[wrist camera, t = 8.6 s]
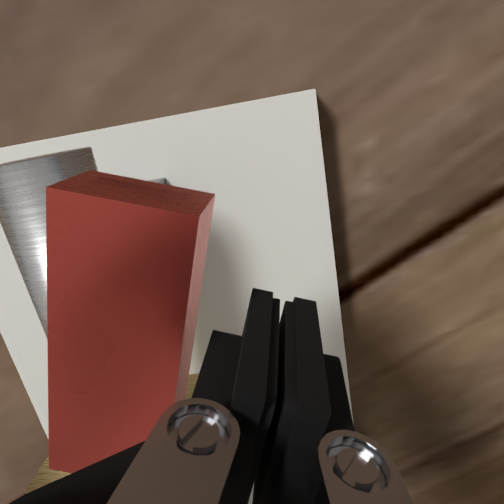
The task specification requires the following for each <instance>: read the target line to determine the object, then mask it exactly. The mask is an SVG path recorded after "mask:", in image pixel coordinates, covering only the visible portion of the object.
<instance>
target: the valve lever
mask: <svg viewBox="0 0 504 504" xmlns="http://www.w3.org/2000/svg"><path fill="white" fill-rule="evenodd" d="M214 199H215V194H213V193H208V192H203V191H197V190H192V189H187V188H182V187H177V186H171V185H166V184H161V183H156V182H150V181H145V180H140V179H135V178H130V177H124V176H119V175H114V174H109V173H103V172H98V171H93V170H89V171H87V172H84V173H81V174H79V175H76V176H73V177H71V178H68V179H65V180H63V181H60V182H57V183H55V184H52V185H49V186H47V187H46V252H47V341H48V431H49V469H52V470H57V471H62V472H67V473H74V472H76V471H78V470H80V469H83V468H85V467H87V466H89V465H92V464H94V463H96V462H98V461H101V460H103V459H105V458H107V457H110V456H112V455H114V454H116V453H118V452H121V451H123V450H125V449H127V448H130V447H132V446H134V445H136V444H139V443H141V442H143V441H145V440H146V439H147V437H148V436H149V434H150V433H151V431H152V429H153V428H154V426H155V424H156V423H157V421H158V420H159V418H160V416H161V415H162V414H163V413H164V411H165V410H166V409H167V408H168V407H169V406H171V405H173V404H174V403H176V402H178V401H181V400H185V398H186V391H187V385H188V378H189V371H190V364H191V357H192V350H193V343H194V336H195V330H196V323H197V316H198V309H199V302H200V295H201V288H202V282H203V275H204V268H205V261H206V254H207V247H208V240H209V233H210V227H211V220H212V213H213V206H214Z"/></svg>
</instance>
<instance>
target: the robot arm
mask: <svg viewBox="0 0 504 504" xmlns="http://www.w3.org/2000/svg"><path fill="white" fill-rule="evenodd" d="M279 321H280V323H279ZM253 484H254V489H253V501H252V504H414V503H413V501H412V499H411V496H410V494H409V492H408V490H407V488H406V485H405V483H404V481H403V479H402V477H401V474H400V472H399V470H398V468H397V466H396V464H395V462H394V461H393V459H392V457H391V456H390V454H389V453H388V452H387V451H386V450H385V449H384V448H383V447H382V446H381V445H380V444H378V443H377V442H375V441H374V440H373V439H371V438H370V437H367V436H365V435H363V434H361V433H359V432H355V430H354V425H353V420H352V415H351V410H350V405H349V400H348V395H347V390H346V385H345V380H344V375H343V370H342V365H341V361H340V358H339V357H337V356H332V355H328V354H323V347H322V340H321V333H320V326H319V319H318V312H317V304H316V301H312V300H307V299H303V298H298V297H294V300H293V302H291V301H285V304H284V307H283V311H282V315H281V319H280V299H277V298H273V292H270V291H266V290H261V289H257V288H253V289H252V293H251V298H250V302H249V306H248V311H247V315H246V320H245V324H244V329H243V333H242V336H240V335H235V334H231V333H226V332H222V331H217V330H213V331H212V334H211V337H210V340H209V344H208V347H207V350H206V353H205V356H204V360H203V363H202V366H201V369H200V372H199V376H198V379H197V382H196V385H195V388H194V391H193V395H192V398H189V399H185V400H181V401H178V402H176V403H174V404H173V405H171V406H169V407H168V408H167V409H166V410H165V411H164V413H163V414H162V415H161V416H160V418H159V420H158V421H157V423H156V424H155V426H154V428H153V429H152V431H151V433H150V434H149V436H148V437H147V439H146V440H145V441H143V442H141V443H139V444H136V445H134V446H132V447H130V448H127V449H125V450H123V451H121V452H118V453H116V454H114V455H112V456H110V457H107V458H105V459H103V460H101V461H98V462H96V463H94V464H92V465H89V466H87V467H85V468H83V469H80V470H78V471H76V472H74V473H71V474H69V475H67V476H65V477H63V478H60V479H58V480H56V481H54V482H51V483H49V484H47V485H45V486H42V487H40V488H38V489H36V490H33V491H31V492H29V493H27V494H25V495H23V496H22V497H20V498H18V499H16V500H15V501H13V502H11V503H10V504H248V502H249V498H250V495H251V491H252V488H253Z"/></svg>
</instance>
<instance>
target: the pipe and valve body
mask: <svg viewBox="0 0 504 504" xmlns="http://www.w3.org/2000/svg"><path fill="white" fill-rule="evenodd" d="M89 170H93V171H98V168H97V165H96V161H95V158H94V155H93V151H92V148H91V147H85V148H79V149H73V150H67V151H62V152H56V153H51V154H46V155H41V156H36V157H31V158H26V159H21V160H16V161H11V162H7V163H2V164H0V223H1V226H2V228H3V231H4V233H5V236H6V238H7V241H8V243H9V245H10V248H11V250H12V253H13V255H14V258H15V260H16V263H17V265H18V268H19V270H20V273H21V275H22V278H23V280H24V283H25V285H26V288H27V290H28V292H29V295H30V297H31V300H32V302H33V305H34V307H35V310H36V312H37V315H38V317H39V320H40V322H41V325H42V327H43V330H44V332H45V335H46V337H47V252H46V187H47V186H49V185H52V184H55V183H57V182H60V181H63V180H65V179H68V178H71V177H73V176H76V175H79V174H81V173H84V172H87V171H89ZM98 172H99V171H98ZM147 181H150V182H156V183H161V184H166V185H167V183H166V179H165V178H159V179H153V180H147ZM198 376H199V373H196V374H189V378H188V385H187V391H186V398H185V399H189V398H192V395H193V391H194V388H195V385H196V382H197V379H198ZM69 474H71V473H67V472H62V471H57V470H52V469H49V456H48V457H47V459H46V460H45V462H44V463H43V465H42V466H41V468H40V469H39V471H38V472H37V474H36V475H35V477H34V478H33V480H32V481H31V483H30V485H29V486H28V488H27V489H26V491H25V493H26V494H27V493H29V492H31V491H33V490H36V489H38V488H40V487H42V486H45V485H47V484H49V483H51V482H54V481H56V480H58V479H60V478H63V477H65V476H67V475H69Z"/></svg>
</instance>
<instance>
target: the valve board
mask: <svg viewBox="0 0 504 504" xmlns="http://www.w3.org/2000/svg"><path fill="white" fill-rule="evenodd" d="M85 147H91V148H92V151H93V155H94V158H95V161H96V165H97V168H98V171H99V172H103V173H109V174H114V175H119V176H124V177H130V178H135V179H140V180H145V181H147V180H153V179H159V178H165V179H166V183H167V185H171V186H177V187H182V188H187V189H192V190H197V191H203V192H208V193H213V194H215V199H214V206H213V213H212V220H211V227H210V233H209V240H208V247H207V254H206V261H205V268H204V275H203V282H202V288H201V295H200V302H199V309H198V316H197V323H196V330H195V336H194V343H193V350H192V357H191V364H190V371H189V374H196V373H199V372H200V369H201V366H202V363H203V360H204V356H205V353H206V350H207V347H208V344H209V340H210V337H211V334H212V331H213V330H217V331H222V332H226V333H231V334H235V335H240V336H242V333H243V329H244V324H245V320H246V315H247V311H248V306H249V302H250V298H251V293H252V289H253V288H257V289H261V290H266V291H270V292H273V298H277V299H280V319H281V315H282V311H283V307H284V304H285V301H291V302H293V300H294V297H298V298H303V299H307V300H312V301H316V304H317V312H318V319H319V326H320V333H321V340H322V347H323V354H328V355H332V356H337V357H339V358H340V361H341V365H342V370H343V375H344V380H345V385H346V390H347V395H348V400H349V405H350V410H351V415H352V407H351V399H350V390H349V381H348V372H347V363H346V354H345V346H344V337H343V328H342V319H341V310H340V301H339V293H338V284H337V275H336V266H335V257H334V248H333V240H332V231H331V222H330V213H329V204H328V195H327V186H326V178H325V169H324V160H323V151H322V142H321V133H320V125H319V116H318V107H317V98H316V89H311V90H306V91H301V92H295V93H290V94H285V95H279V96H274V97H269V98H263V99H258V100H253V101H247V102H242V103H237V104H231V105H226V106H221V107H215V108H210V109H205V110H199V111H194V112H189V113H183V114H178V115H173V116H168V117H162V118H157V119H152V120H146V121H141V122H136V123H130V124H125V125H120V126H114V127H109V128H104V129H98V130H93V131H88V132H82V133H77V134H72V135H66V136H61V137H56V138H50V139H45V140H40V141H35V142H29V143H24V144H19V145H13V146H8V147H3V148H0V164H2V163H7V162H11V161H16V160H21V159H26V158H31V157H36V156H41V155H46V154H51V153H56V152H62V151H67V150H73V149H79V148H85ZM279 323H280V321H279ZM0 332H1V335H2V337H3V339H4V341H5V343H6V346H7V348H8V350H9V352H10V355H11V357H12V359H13V361H14V364H15V366H16V368H17V370H18V373H19V375H20V377H21V379H22V381H23V384H24V386H25V388H26V390H27V393H28V395H29V397H30V399H31V402H32V404H33V406H34V408H35V411H36V413H37V415H38V417H39V419H40V422H41V424H42V426H43V428H44V431H45V433H46V435H47V437H48V440H49V431H48V341H47V337H46V335H45V332H44V330H43V327H42V325H41V322H40V320H39V317H38V315H37V312H36V310H35V307H34V305H33V302H32V300H31V297H30V295H29V292H28V290H27V288H26V285H25V283H24V280H23V278H22V275H21V273H20V270H19V268H18V265H17V263H16V260H15V258H14V255H13V253H12V250H11V248H10V245H9V243H8V241H7V238H6V236H5V233H4V231H3V228H2V226H1V223H0ZM352 420H353V416H352ZM253 489H254V484H253V488H252V491H251V495H250V498H249V502H248V504H252V501H253Z"/></svg>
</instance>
